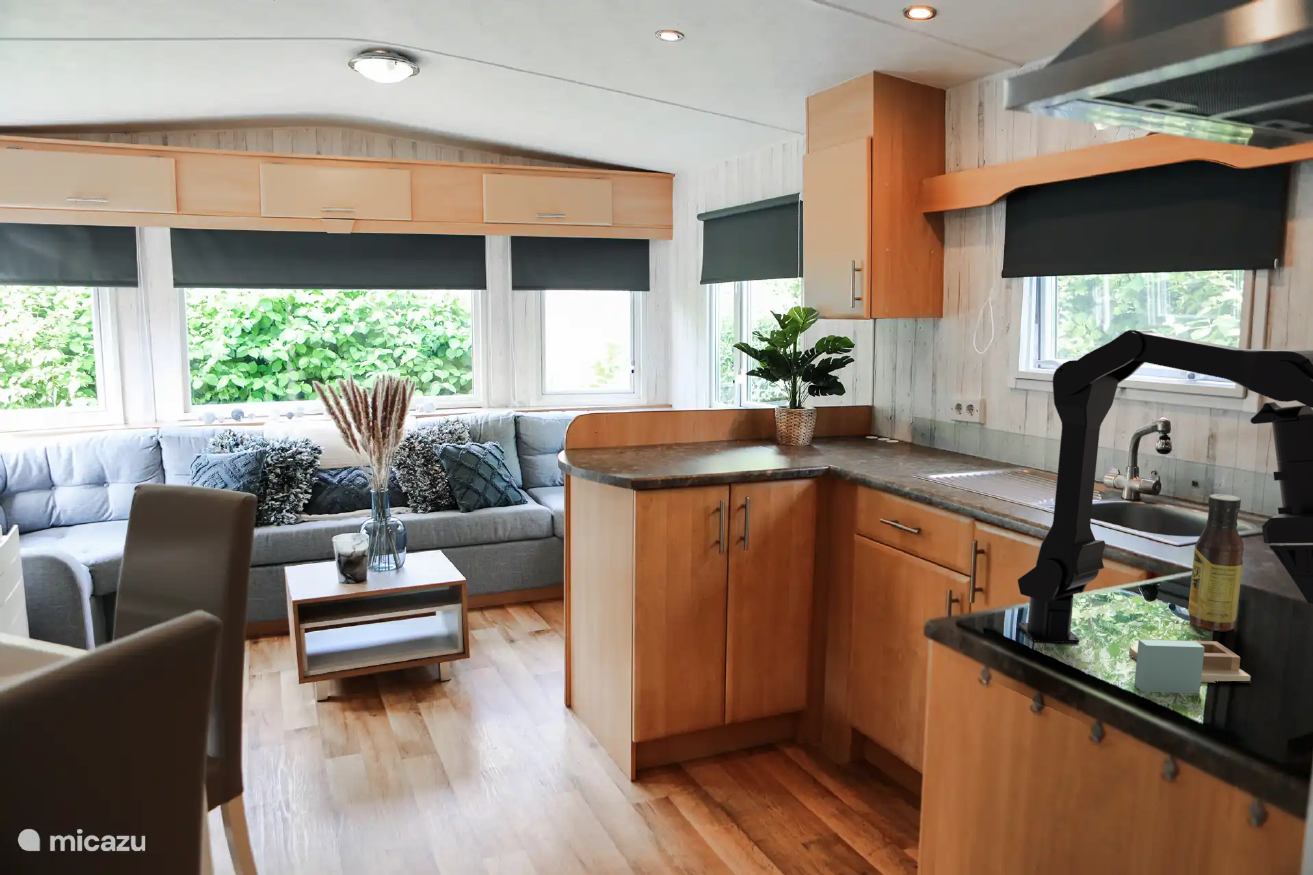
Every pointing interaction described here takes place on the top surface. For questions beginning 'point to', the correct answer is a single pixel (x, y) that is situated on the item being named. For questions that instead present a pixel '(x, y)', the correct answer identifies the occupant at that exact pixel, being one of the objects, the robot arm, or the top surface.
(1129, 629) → the top surface
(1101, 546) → the robot arm
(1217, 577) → the sauce bottle
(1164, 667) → the slider block
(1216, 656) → the track board
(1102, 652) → the top surface
